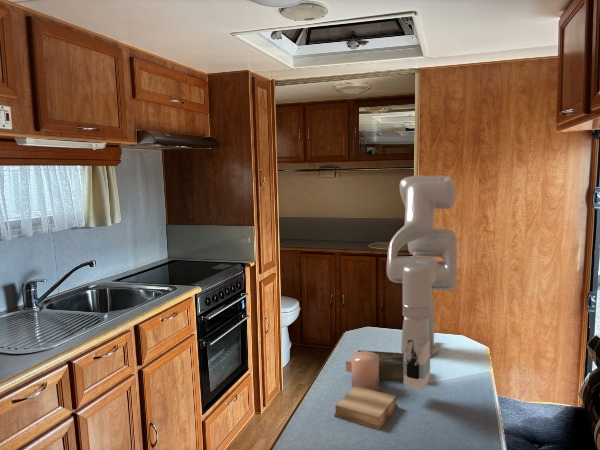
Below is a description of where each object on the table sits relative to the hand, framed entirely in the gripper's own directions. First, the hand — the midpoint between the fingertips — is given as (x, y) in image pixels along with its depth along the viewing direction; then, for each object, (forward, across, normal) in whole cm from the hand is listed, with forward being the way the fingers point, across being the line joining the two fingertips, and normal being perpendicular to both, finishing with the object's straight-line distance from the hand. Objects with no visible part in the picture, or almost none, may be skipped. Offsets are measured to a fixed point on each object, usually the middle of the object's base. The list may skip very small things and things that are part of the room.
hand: (416, 371), depth 129 cm
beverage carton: (+9, -10, -13) cm, 19 cm away
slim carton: (+3, 0, 0) cm, 3 cm away
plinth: (+8, +12, -10) cm, 18 cm away
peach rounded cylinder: (+9, -1, -17) cm, 19 cm away
